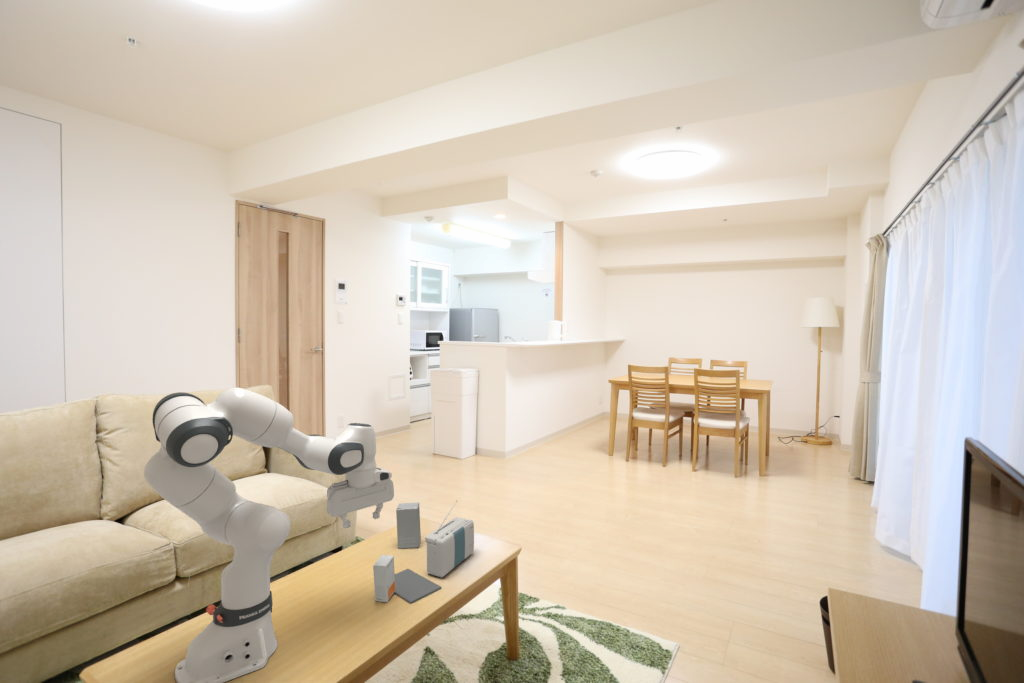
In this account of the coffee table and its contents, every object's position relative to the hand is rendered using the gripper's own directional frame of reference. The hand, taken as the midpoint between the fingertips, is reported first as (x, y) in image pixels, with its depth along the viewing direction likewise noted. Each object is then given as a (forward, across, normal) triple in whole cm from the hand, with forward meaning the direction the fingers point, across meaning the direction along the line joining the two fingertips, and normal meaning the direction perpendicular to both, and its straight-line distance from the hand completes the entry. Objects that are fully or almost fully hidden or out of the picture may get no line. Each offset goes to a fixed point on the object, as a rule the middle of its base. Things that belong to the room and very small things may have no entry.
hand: (361, 522), depth 148 cm
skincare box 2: (+26, +33, +27) cm, 50 cm away
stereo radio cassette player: (+26, +35, +3) cm, 44 cm away
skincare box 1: (+26, +8, 0) cm, 27 cm away
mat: (+26, +17, +1) cm, 31 cm away
